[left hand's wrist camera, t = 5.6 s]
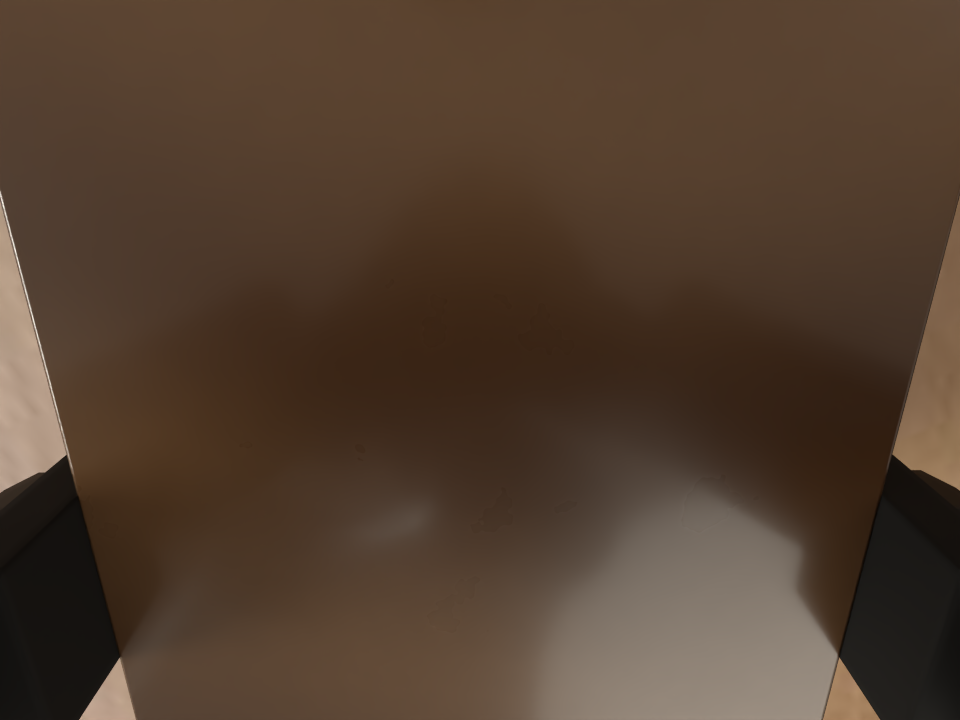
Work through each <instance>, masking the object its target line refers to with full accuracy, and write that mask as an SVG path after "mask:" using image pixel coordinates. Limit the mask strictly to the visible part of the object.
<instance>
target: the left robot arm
mask: <svg viewBox="0 0 960 720" xmlns="http://www.w3.org/2000/svg"><path fill="white" fill-rule="evenodd" d="M839 657H840V659H841V660H842V662H843V663H844V665H845V666H846V668H847V669H848V671H849V673H850V674H851V676H852V677H853V679H854V680H855V682H856V683H857V685H858V686H859V688H860V689H861V691H862V692H863V694H864V695H865V697H866V698H867V700H868V702H869V703H870V705H871V706H872V708H873V709H874V711H875V712H876V714H877V715H878V717H879V718H880V720H960V491H959V490H958V489H957V488H955V487H953V486H951V485H949V484H947V483H945V482H943V481H941V480H939V479H937V478H935V477H933V476H931V475H929V474H927V473H925V472H923V471H921V470H910V469H909V468H908V467H907V466H905V465H904V464H903V463H902V462H901V461H899V460H898V459H897V458H896V457H895V456H894V455H892V457H891V460H890V464H889V468H888V472H887V476H886V480H885V483H884V487H883V491H882V495H881V499H880V503H879V506H878V510H877V514H876V518H875V522H874V526H873V529H872V533H871V537H870V541H869V545H868V549H867V552H866V556H865V560H864V564H863V568H862V572H861V575H860V579H859V583H858V587H857V591H856V595H855V598H854V602H853V606H852V610H851V614H850V618H849V621H848V625H847V629H846V633H845V637H844V641H843V644H842V648H841V652H840V656H839ZM119 658H120V656H119V652H118V648H117V644H116V641H115V637H114V633H113V629H112V625H111V622H110V618H109V614H108V610H107V606H106V602H105V599H104V595H103V591H102V587H101V583H100V580H99V576H98V572H97V568H96V564H95V560H94V557H93V553H92V549H91V545H90V541H89V538H88V534H87V530H86V526H85V522H84V518H83V515H82V511H81V507H80V503H79V499H78V496H77V492H76V488H75V484H74V480H73V476H72V473H71V469H70V465H69V461H68V457H67V455H66V456H65V457H63V458H62V459H61V460H60V461H59V462H57V463H56V464H55V465H54V466H53V467H51V468H50V469H49V470H48V471H47V472H45V473H37V474H35V475H33V476H31V477H29V478H27V479H25V480H23V481H21V482H19V483H17V484H15V485H14V486H12V487H10V488H8V489H6V490H4V491H3V492H1V493H0V720H79V719H80V717H81V716H82V714H83V713H84V711H85V710H86V708H87V707H88V705H89V704H90V702H91V700H92V699H93V697H94V696H95V694H96V693H97V691H98V690H99V688H100V687H101V685H102V684H103V682H104V681H105V679H106V678H107V676H108V675H109V673H110V671H111V670H112V668H113V667H114V665H115V664H116V662H117V661H118V659H119Z"/></svg>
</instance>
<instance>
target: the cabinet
mask: <svg viewBox="0 0 960 720" xmlns="http://www.w3.org/2000/svg"><path fill="white" fill-rule="evenodd" d="M959 196H960V0H0V202H1V205H2V209H3V213H4V217H5V221H6V224H7V228H8V232H9V236H10V240H11V244H12V247H13V251H14V255H15V259H16V263H17V266H18V270H19V274H20V278H21V282H22V286H23V289H24V293H25V297H26V301H27V305H28V308H29V312H30V316H31V320H32V324H33V328H34V331H35V335H36V339H37V343H38V347H39V350H40V354H41V358H42V362H43V366H44V370H45V373H46V377H47V381H48V385H49V389H50V392H51V396H52V400H53V404H54V408H55V412H56V415H57V419H58V423H59V427H60V431H61V434H62V438H63V442H64V446H65V450H66V454H67V457H68V461H69V465H70V469H71V473H72V476H73V480H74V484H75V488H76V492H77V496H78V499H79V503H80V507H81V511H82V515H83V518H84V522H85V526H86V530H87V534H88V538H89V541H90V545H91V549H92V553H93V557H94V560H95V564H96V568H97V572H98V576H99V580H100V583H101V587H102V591H103V595H104V599H105V602H106V606H107V610H108V614H109V618H110V622H111V625H112V629H113V633H114V637H115V641H116V644H117V648H118V652H119V656H120V660H121V664H122V667H123V671H124V675H125V679H126V683H127V686H128V690H129V694H130V698H131V702H132V706H133V709H134V713H135V717H136V720H823V717H824V713H825V710H826V706H827V702H828V698H829V694H830V690H831V687H832V683H833V679H834V675H835V671H836V667H837V664H838V660H839V656H840V652H841V648H842V644H843V641H844V637H845V633H846V629H847V625H848V621H849V618H850V614H851V610H852V606H853V602H854V598H855V595H856V591H857V587H858V583H859V579H860V575H861V572H862V568H863V564H864V560H865V556H866V552H867V549H868V545H869V541H870V537H871V533H872V529H873V526H874V522H875V518H876V514H877V510H878V506H879V503H880V499H881V495H882V491H883V487H884V483H885V480H886V476H887V472H888V468H889V464H890V460H891V457H892V453H893V449H894V445H895V441H896V437H897V434H898V430H899V426H900V422H901V418H902V414H903V411H904V407H905V403H906V399H907V395H908V392H909V388H910V384H911V380H912V376H913V372H914V369H915V365H916V361H917V357H918V353H919V349H920V346H921V342H922V338H923V334H924V330H925V326H926V323H927V319H928V315H929V311H930V307H931V303H932V300H933V296H934V292H935V288H936V284H937V280H938V277H939V273H940V269H941V265H942V261H943V257H944V254H945V250H946V246H947V242H948V238H949V234H950V231H951V227H952V223H953V219H954V215H955V211H956V208H957V204H958V200H959Z"/></svg>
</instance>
